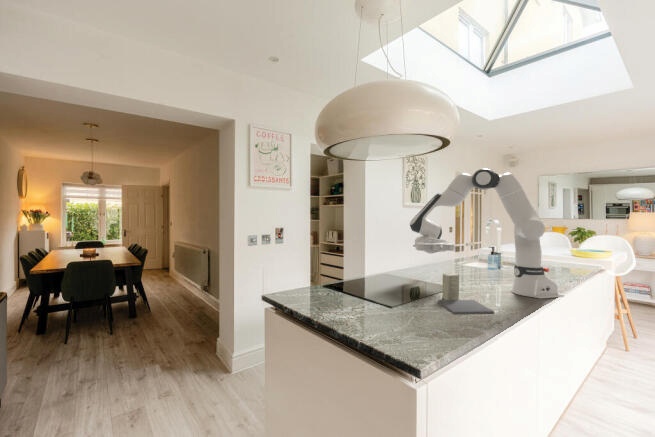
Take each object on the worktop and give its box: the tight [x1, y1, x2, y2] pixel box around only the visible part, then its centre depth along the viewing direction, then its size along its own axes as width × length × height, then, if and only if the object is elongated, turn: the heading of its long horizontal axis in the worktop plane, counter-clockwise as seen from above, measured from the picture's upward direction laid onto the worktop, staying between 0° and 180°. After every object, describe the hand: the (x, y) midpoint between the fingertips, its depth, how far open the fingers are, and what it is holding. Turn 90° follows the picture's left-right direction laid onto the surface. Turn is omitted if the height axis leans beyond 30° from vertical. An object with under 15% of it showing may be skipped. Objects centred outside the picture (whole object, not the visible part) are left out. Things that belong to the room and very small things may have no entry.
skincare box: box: [442, 272, 460, 300], centre depth 143 cm, size 6×4×12 cm
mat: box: [437, 299, 495, 315], centre depth 132 cm, size 17×16×1 cm
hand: (440, 248), depth 155 cm, fingers closed
